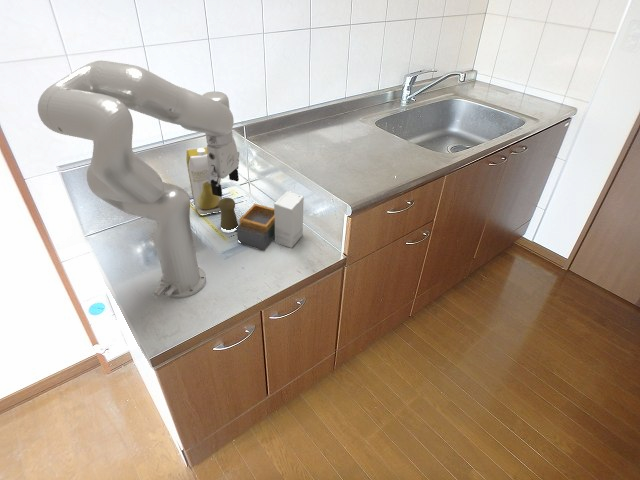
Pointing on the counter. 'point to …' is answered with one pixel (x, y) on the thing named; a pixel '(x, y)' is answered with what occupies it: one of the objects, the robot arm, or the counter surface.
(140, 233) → the counter surface
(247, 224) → the grey open box
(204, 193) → the juice carton
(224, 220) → the olive rounded tall piece
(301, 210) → the skincare box
